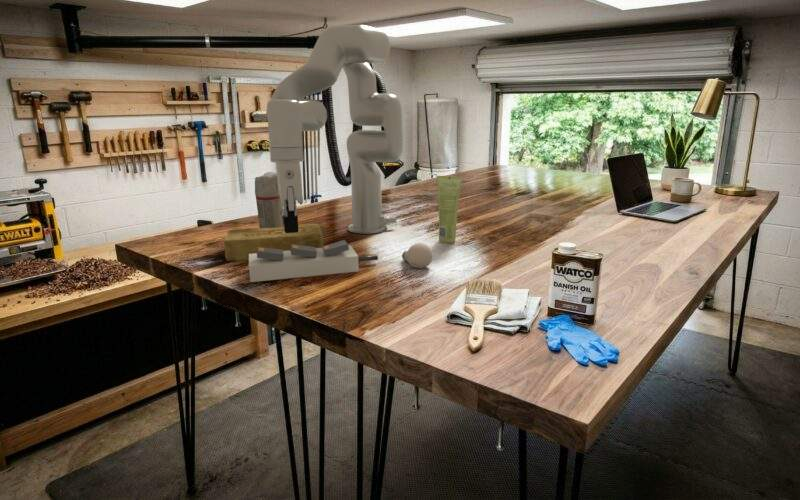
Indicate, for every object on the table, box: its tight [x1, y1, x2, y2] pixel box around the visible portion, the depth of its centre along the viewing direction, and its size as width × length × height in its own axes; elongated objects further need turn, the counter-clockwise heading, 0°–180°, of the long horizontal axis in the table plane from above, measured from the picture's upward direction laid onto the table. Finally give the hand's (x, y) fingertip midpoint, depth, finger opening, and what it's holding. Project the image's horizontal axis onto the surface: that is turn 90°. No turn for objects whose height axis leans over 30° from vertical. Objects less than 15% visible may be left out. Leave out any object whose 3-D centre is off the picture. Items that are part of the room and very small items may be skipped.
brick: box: [224, 223, 325, 262], centre depth 142 cm, size 13×26×7 cm, turn 105°
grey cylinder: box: [254, 171, 284, 229], centre depth 155 cm, size 8×8×20 cm
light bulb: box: [401, 242, 434, 270], centre depth 130 cm, size 7×7×11 cm
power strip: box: [248, 244, 379, 283], centre depth 128 cm, size 32×10×4 cm, turn 106°
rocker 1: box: [257, 247, 284, 261], centre depth 123 cm, size 6×4×2 cm, turn 107°
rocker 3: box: [322, 239, 349, 257], centre depth 127 cm, size 6×4×2 cm, turn 105°
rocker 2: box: [290, 244, 317, 258], centre depth 125 cm, size 6×4×2 cm, turn 106°
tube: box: [436, 175, 463, 244], centre depth 149 cm, size 6×5×20 cm
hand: (291, 231), depth 122 cm, fingers closed
